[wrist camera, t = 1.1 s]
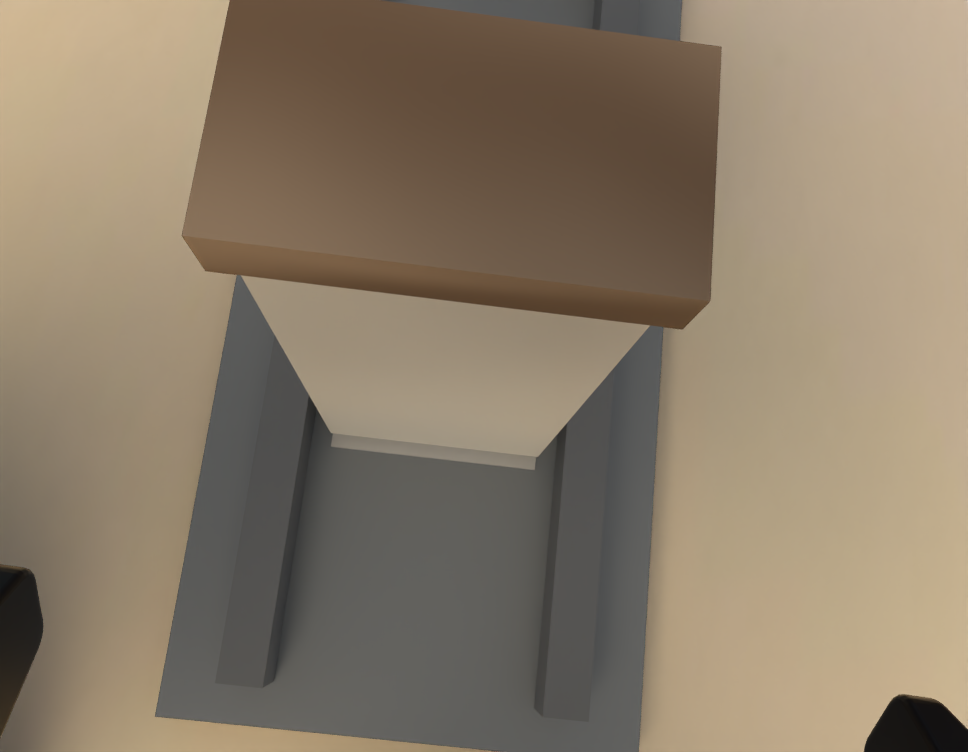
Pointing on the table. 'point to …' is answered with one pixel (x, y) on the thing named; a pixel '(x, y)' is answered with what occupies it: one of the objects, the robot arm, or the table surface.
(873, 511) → the table surface
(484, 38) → the switch tab
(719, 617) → the table surface
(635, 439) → the switch housing
